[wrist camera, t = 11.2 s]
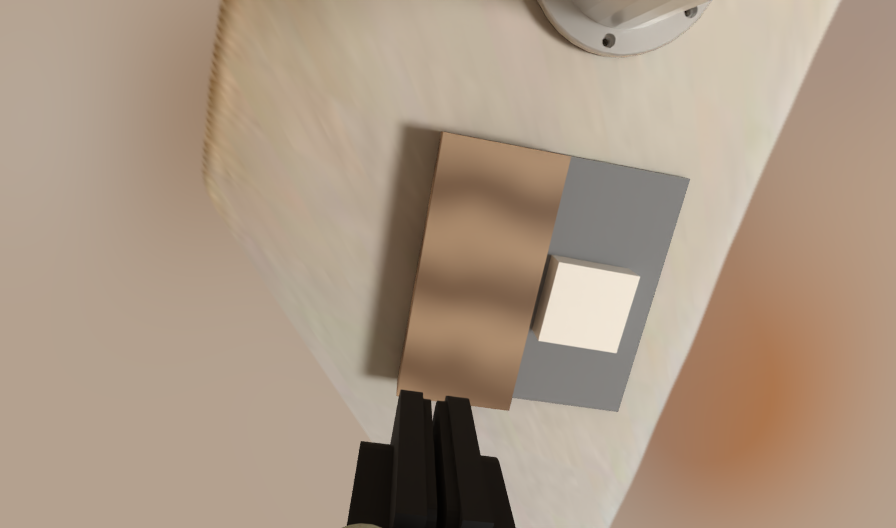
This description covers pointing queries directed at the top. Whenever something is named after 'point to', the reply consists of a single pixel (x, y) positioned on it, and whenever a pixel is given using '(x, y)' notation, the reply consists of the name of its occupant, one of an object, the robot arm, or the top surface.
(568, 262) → the block
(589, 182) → the mat
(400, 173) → the top surface
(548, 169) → the board
